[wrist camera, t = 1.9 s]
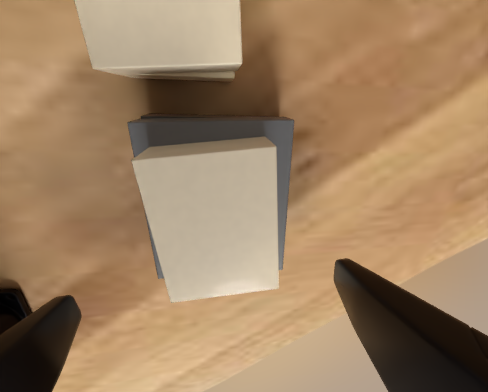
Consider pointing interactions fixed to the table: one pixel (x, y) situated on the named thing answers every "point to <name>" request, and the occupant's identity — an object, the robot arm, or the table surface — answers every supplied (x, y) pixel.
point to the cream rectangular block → (212, 215)
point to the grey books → (216, 129)
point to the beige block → (163, 38)
